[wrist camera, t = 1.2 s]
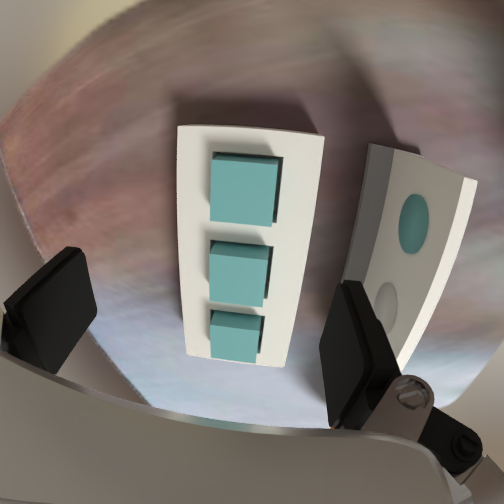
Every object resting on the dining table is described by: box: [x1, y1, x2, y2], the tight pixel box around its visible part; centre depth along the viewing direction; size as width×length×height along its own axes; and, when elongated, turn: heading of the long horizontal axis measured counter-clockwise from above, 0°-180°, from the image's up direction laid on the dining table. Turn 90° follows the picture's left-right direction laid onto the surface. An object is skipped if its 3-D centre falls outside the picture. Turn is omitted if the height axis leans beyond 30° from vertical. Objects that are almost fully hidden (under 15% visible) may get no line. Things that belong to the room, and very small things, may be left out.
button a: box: [210, 154, 278, 227], centre depth 24 cm, size 5×5×3 cm
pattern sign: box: [341, 143, 478, 372], centre depth 24 cm, size 6×26×13 cm, turn 176°
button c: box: [210, 310, 261, 364], centre depth 31 cm, size 5×5×3 cm
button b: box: [209, 240, 269, 307], centre depth 27 cm, size 5×5×3 cm
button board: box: [177, 124, 325, 367], centre depth 29 cm, size 12×26×4 cm, turn 176°
